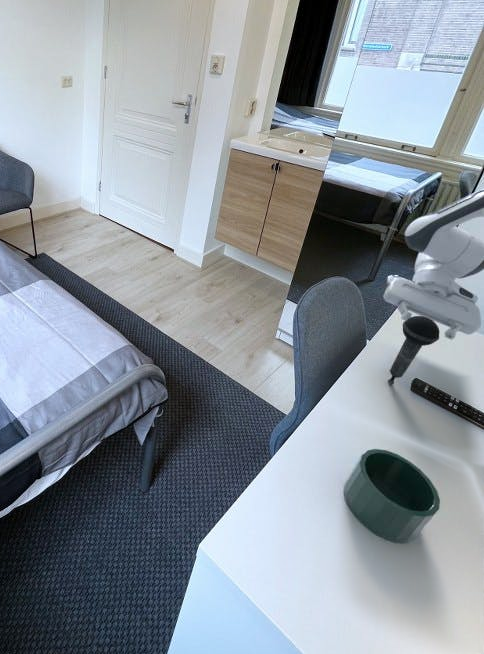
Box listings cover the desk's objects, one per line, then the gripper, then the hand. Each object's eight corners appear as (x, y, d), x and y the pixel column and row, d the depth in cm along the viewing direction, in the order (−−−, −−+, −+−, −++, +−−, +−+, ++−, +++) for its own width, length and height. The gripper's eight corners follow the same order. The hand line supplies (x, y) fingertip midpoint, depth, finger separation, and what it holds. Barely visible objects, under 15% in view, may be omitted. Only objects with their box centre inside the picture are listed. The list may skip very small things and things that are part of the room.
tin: (409, 492, 78) (428, 465, 74) (426, 556, 69) (449, 529, 65) (340, 466, 82) (355, 439, 78) (347, 524, 72) (365, 496, 68)
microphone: (374, 368, 107) (409, 305, 97) (406, 382, 103) (445, 318, 94) (372, 385, 102) (408, 320, 92) (406, 399, 98) (447, 334, 89)
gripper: (394, 265, 113) (387, 301, 105) (485, 299, 105) (484, 341, 97) (383, 279, 118) (375, 315, 110) (469, 313, 110) (467, 354, 102)
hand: (427, 327), depth 104 cm, fingers open, 8 cm apart
